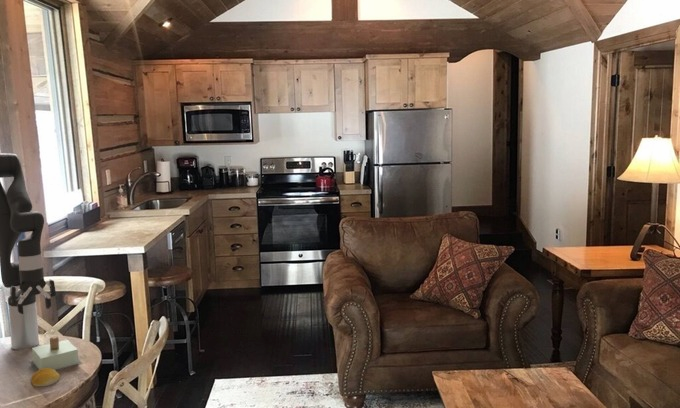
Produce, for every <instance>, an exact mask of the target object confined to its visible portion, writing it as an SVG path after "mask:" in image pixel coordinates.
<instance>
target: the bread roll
mask: <svg viewBox="0 0 680 408" xmlns="http://www.w3.org/2000/svg"><path fill="white" fill-rule="evenodd" d="M59 380H60V373H58V372H57V371H55V370H54V369H51V368H43V369H40V370H38V371H37V372H36V371H35V372H34V373H33V374H32V376H31V377H30V382H31V383H32V385H33V386H34V387H47V386H50V385H53V384H56V383H57V382H58V381H59Z"/></svg>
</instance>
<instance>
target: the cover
mask: <svg viewBox="0 0 680 408" xmlns="http://www.w3.org/2000/svg"><path fill="white" fill-rule="evenodd" d="M31 351H32V353H31V354H32V361H33V363H34V364H35V365H36V366H37V368H38V369H39V370H40V369H43V368H51V369H54V370H56V369H60V368H63V367H67V366H71V365H75V364H78V359H79V350H78V348H77V347H76V346H75V345H74V344H72V342H70V341H69V340H68V339H64V340H61V341H60V340H59V336H51V337H49V343H47V344H42V345H37V346H34V347H31Z"/></svg>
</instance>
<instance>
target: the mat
mask: <svg viewBox="0 0 680 408" xmlns="http://www.w3.org/2000/svg"><path fill="white" fill-rule="evenodd" d="M28 363H29V365H31V367H32V368H33V369H34V370H35V372H37V371H38V370H39V369H38V368H37V366H36V365H35V364H34V363H33V360H31V361H28ZM79 365H83V362H82V361H81V360H80V359H79V358H78V364H75V365H71V366H67V367H63V368H60V369H56V370H55V371H56V372H57V371H61V370H64V369H68V368H71V367H72V368H73V367H77V366H79Z"/></svg>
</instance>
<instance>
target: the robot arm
mask: <svg viewBox="0 0 680 408" xmlns="http://www.w3.org/2000/svg"><path fill="white" fill-rule="evenodd" d="M23 172H24V171H23V167H22V163H21V160H20V157H19V156H18V155H17V154H16V153H12V152H11V153H8V152H7V153H0V178H1V179H2V178H3V179H4V178H13V180H12V182H11V184H10V186H9V187H8V189H7V190H5V188H4V187H3V184H2V182H1V181H0V275H1V277H0V278H1V282H2V285H3V286H4V287H5V288H7V289H10V290H9V292H10V296H8V298H7V304H8V305H7V306H8V316H9V319H8V320H9V330H10V331H9V332H10V345H11V349H12V350H17V351H20V350H26V349H32V348H34V347H38V346H39V343H40V341H39V325H38V324H39V323H38V321H39V320H38V310H37V309H38V308H37V300H36V299H37V297H36V296H38V295H39V294H41V295H42V296H44V297H45V298H44V301H45V308H46V309H47V310H49V309H50V308H51V307H52V298H53V297H56V295H57V292H56V286H55V280H53V279H52V278H51V279H48V280H45V276H44V275H45V273H44V263H43V257H42V250H41V249H42V248H41V240H42V239H41V238H42V233H43V229H44V225H45V218H44V215H43V214H42V213H41V212H40V211H32V210H33V204H32V201H31V198H30V196H29V193H28V191H27V187H26V182H25V177H24V173H23ZM29 232H30V233H31V234H30V235H29V236H28V237H25V238H22V239H19V238H20V236H21V234H22V233H29ZM18 239H19V240H18ZM17 241H18V242H17ZM16 243H17V251H18V261H13V262H11V261H12V260H11V257H12V253H13V251H14V247H15V244H16ZM46 285H47V286H48V287H49V292H50V293H48V292H47V291H46V290H45V289H44V288H45V286H46Z"/></svg>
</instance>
